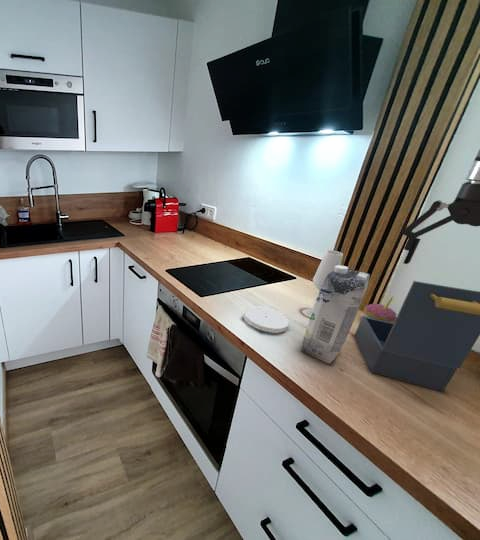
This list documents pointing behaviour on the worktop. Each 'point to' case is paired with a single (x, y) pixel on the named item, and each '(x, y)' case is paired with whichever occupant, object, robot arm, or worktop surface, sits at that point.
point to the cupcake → (380, 312)
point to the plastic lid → (266, 319)
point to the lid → (436, 324)
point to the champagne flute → (324, 272)
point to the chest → (398, 358)
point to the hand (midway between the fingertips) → (442, 271)
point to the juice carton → (334, 312)
